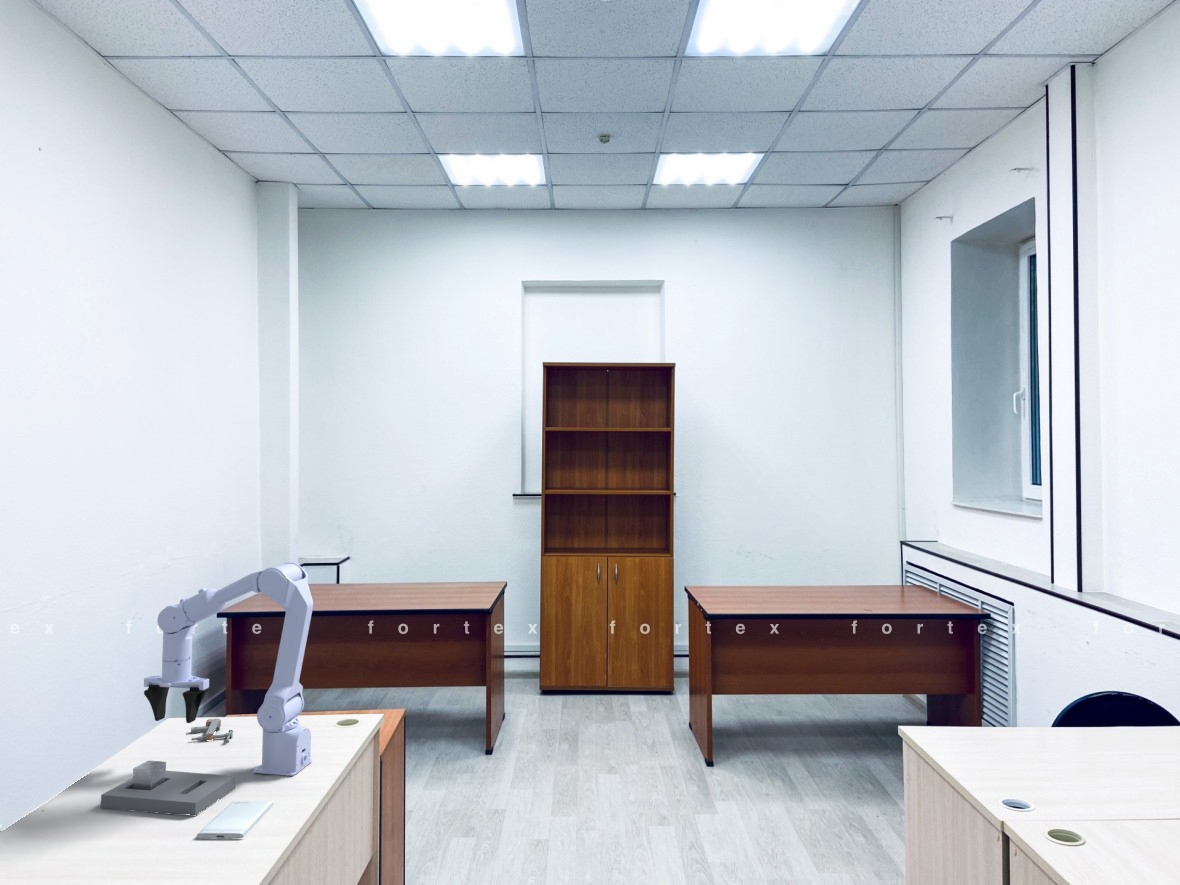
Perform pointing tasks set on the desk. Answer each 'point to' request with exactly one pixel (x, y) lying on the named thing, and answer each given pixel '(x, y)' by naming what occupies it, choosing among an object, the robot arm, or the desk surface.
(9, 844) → the desk surface
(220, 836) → the hard drive
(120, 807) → the plate
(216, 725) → the clamp
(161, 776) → the square bit
